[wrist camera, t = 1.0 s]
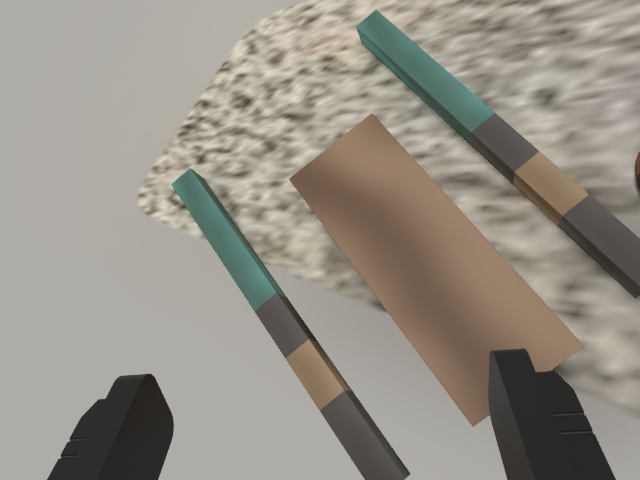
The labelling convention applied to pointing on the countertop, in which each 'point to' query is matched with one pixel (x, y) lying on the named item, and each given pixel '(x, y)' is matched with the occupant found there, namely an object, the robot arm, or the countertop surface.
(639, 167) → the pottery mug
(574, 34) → the countertop surface
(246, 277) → the lane
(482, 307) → the walnut block
